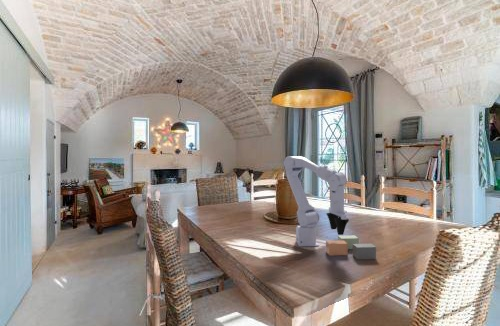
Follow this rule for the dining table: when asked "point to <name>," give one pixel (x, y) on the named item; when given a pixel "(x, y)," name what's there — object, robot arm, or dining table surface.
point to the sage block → (349, 240)
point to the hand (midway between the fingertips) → (336, 231)
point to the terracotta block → (337, 247)
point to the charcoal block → (364, 251)
